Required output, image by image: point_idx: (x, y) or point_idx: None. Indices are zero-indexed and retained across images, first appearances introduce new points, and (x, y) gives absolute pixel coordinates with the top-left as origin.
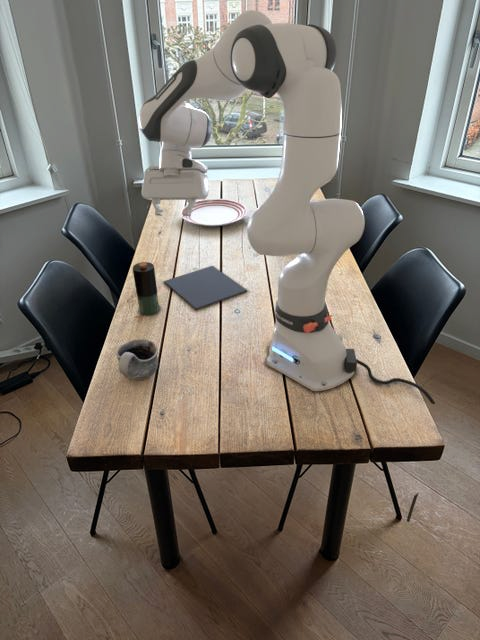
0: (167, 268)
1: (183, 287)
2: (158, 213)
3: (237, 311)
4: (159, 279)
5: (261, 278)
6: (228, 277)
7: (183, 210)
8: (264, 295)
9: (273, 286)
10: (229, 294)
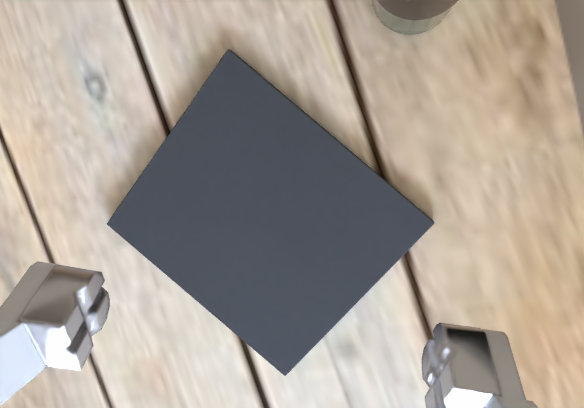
0: None
1: (333, 189)
2: (454, 333)
3: (94, 85)
4: (466, 243)
5: None
6: (195, 298)
7: (73, 312)
8: (51, 211)
9: None
10: (149, 179)
